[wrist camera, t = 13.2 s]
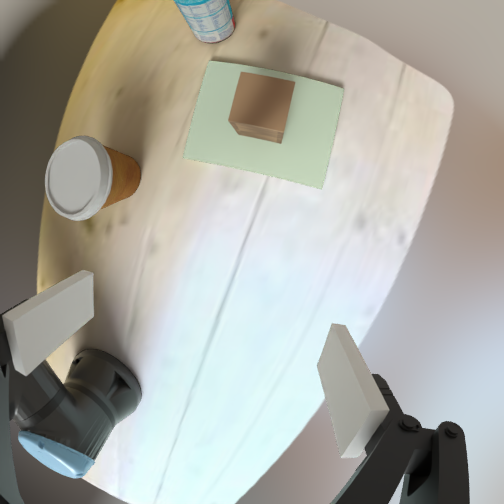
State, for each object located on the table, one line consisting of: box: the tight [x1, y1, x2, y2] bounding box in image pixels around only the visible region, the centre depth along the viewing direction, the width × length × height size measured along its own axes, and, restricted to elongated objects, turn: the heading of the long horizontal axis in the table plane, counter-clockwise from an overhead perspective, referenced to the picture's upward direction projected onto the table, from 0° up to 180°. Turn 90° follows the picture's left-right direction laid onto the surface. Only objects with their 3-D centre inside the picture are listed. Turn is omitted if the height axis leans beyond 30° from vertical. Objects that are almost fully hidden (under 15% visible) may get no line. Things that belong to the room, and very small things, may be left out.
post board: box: [183, 61, 344, 190], centre depth 30 cm, size 18×14×7 cm
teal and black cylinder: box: [174, 0, 235, 43], centre depth 23 cm, size 6×6×15 cm
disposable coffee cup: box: [45, 136, 141, 221], centre depth 31 cm, size 10×10×12 cm
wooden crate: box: [228, 72, 295, 144], centre depth 29 cm, size 5×5×9 cm
